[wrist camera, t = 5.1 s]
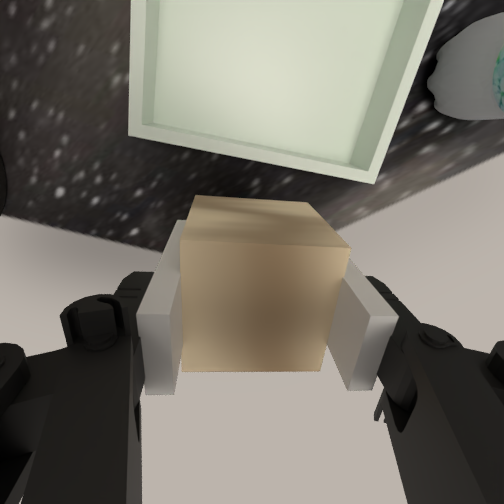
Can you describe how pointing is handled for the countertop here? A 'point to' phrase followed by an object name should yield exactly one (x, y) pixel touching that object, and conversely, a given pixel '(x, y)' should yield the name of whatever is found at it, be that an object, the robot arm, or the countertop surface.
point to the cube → (257, 285)
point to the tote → (277, 77)
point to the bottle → (471, 72)
